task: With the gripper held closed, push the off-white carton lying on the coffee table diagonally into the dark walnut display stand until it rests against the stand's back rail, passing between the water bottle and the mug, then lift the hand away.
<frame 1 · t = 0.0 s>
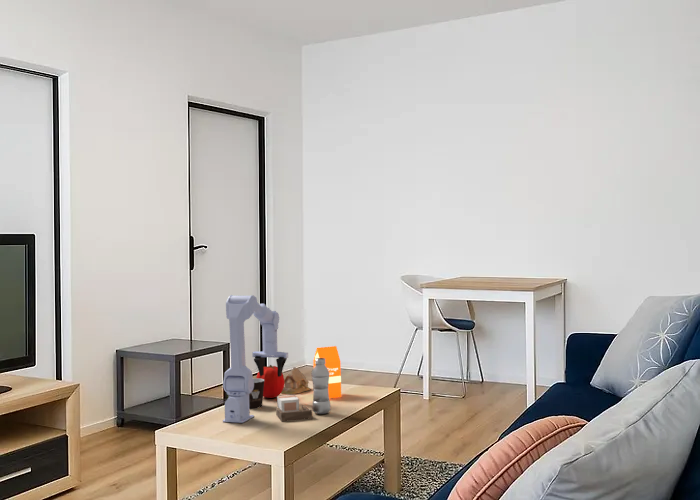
hand: (270, 375, 283), 10 cm above the table, tool pointing down, fingers open, 7 cm apart
ceramic model: (295, 391, 302), on the table
red bell pepper: (270, 398, 290), on the table
carton: (288, 411, 268), on the table
coffee mug: (249, 407, 275), on the table
plastic bottle: (321, 414, 262), on the table
display stand: (293, 416, 258), on the table
orange juice: (327, 396, 290), on the table
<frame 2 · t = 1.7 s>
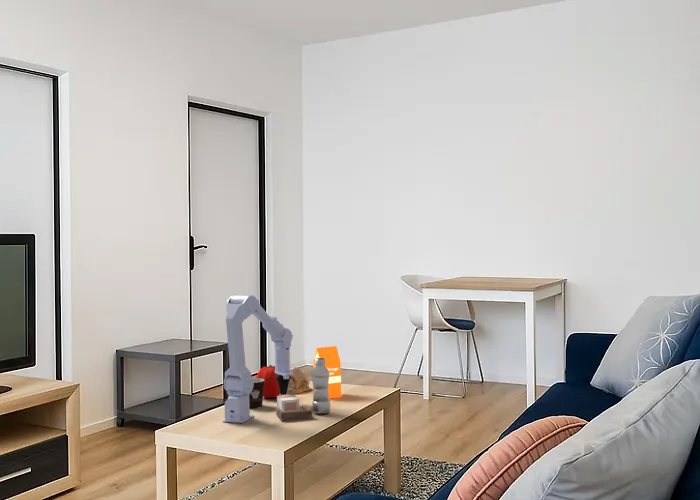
hand: (283, 394, 276), 4 cm above the table, tool pointing down, fingers closed
nothing on the table moved.
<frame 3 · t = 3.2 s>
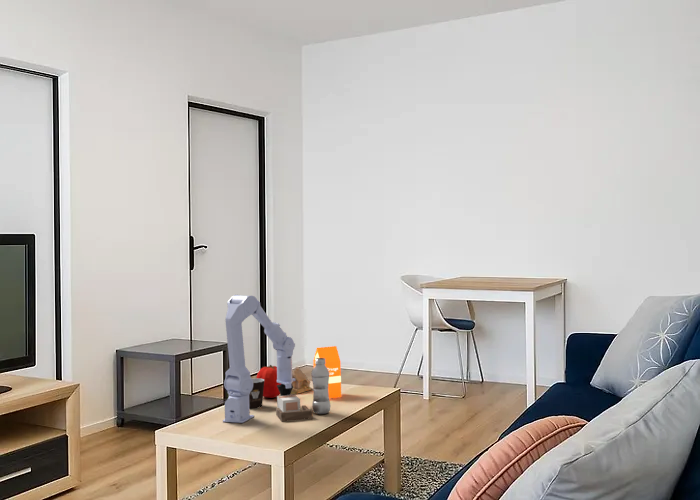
hand: (285, 403, 272), 1 cm above the table, tool pointing down, fingers closed
carton: (288, 410, 267), on the table, touching gripper
everything else where it was.
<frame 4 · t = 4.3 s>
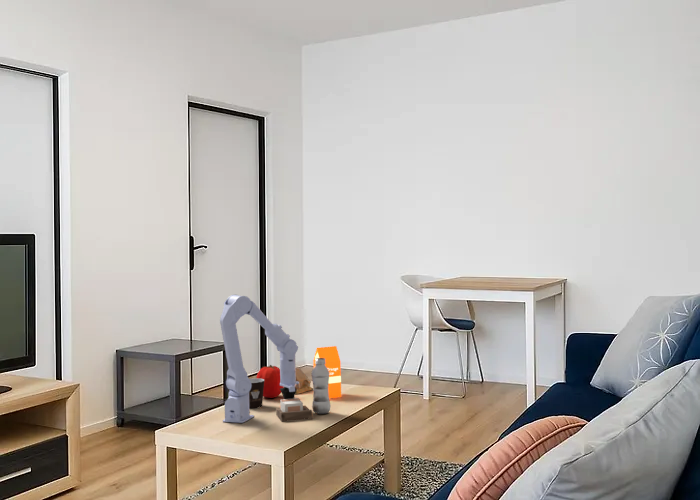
hand: (288, 407, 266), 1 cm above the table, tool pointing down, fingers closed
carton: (291, 414, 261), on the table, touching gripper
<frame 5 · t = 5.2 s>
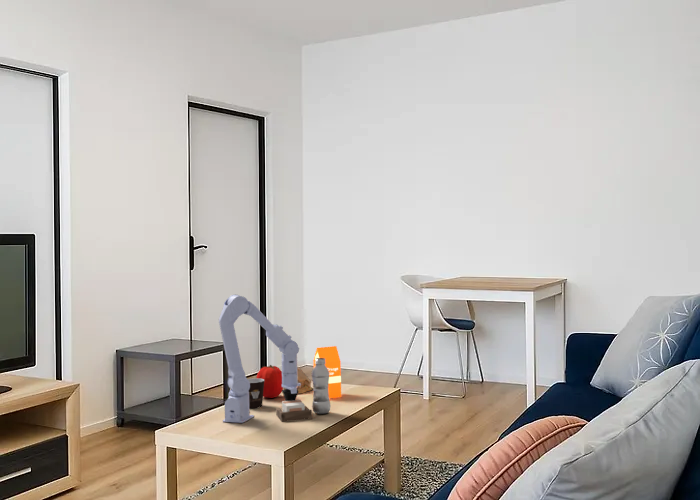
hand: (290, 409, 263), 1 cm above the table, tool pointing down, fingers closed
carton: (293, 416, 258), on the table, touching display stand, gripper
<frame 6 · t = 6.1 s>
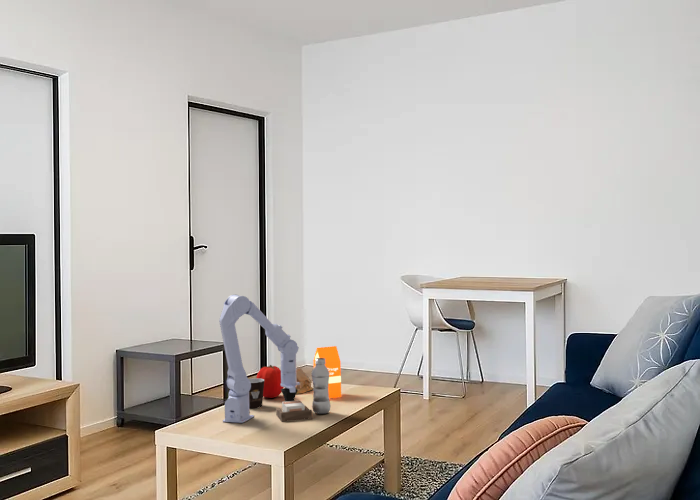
hand: (289, 408, 265), 1 cm above the table, tool pointing down, fingers closed
carton: (293, 417, 258), on the table
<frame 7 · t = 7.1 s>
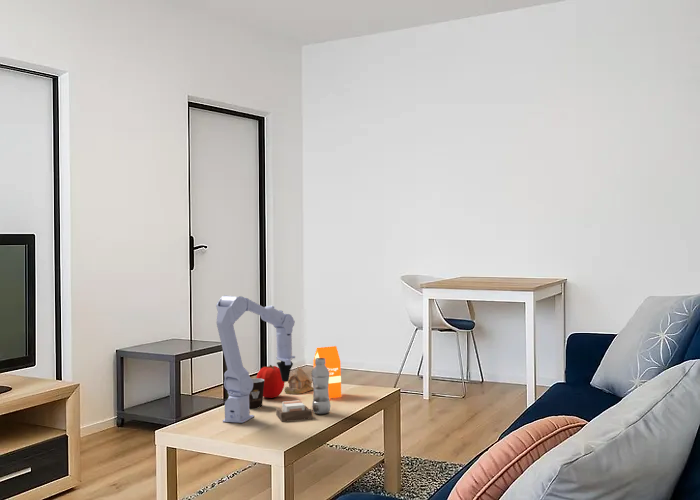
hand: (285, 381, 273), 10 cm above the table, tool pointing down, fingers closed
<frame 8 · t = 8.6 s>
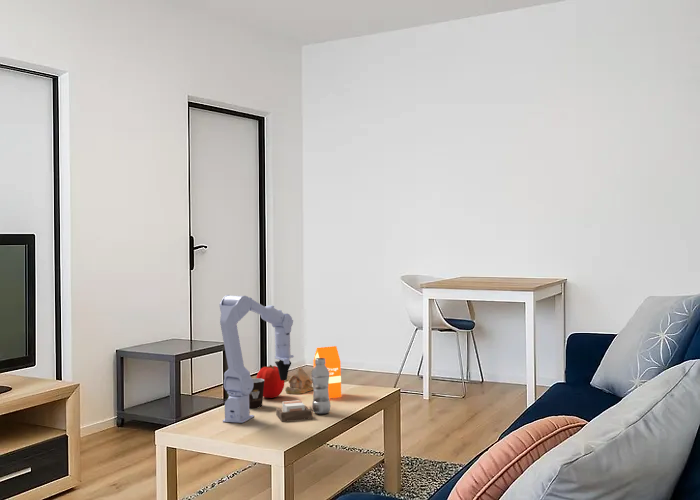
hand: (283, 380, 275), 10 cm above the table, tool pointing down, fingers closed
at the end: carton 0.1 cm off-centre on the display stand, point 0.0 cm above the display stand's base; carton touching table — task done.
